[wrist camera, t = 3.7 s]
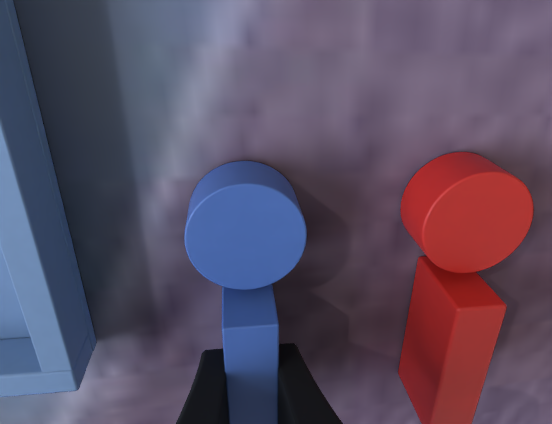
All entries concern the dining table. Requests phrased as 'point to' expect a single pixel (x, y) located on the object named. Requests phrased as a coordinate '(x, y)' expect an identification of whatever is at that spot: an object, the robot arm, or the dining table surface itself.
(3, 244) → the blue tray
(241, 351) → the blue spoon
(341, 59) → the dining table surface
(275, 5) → the dining table surface
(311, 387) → the robot arm
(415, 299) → the red spoon
